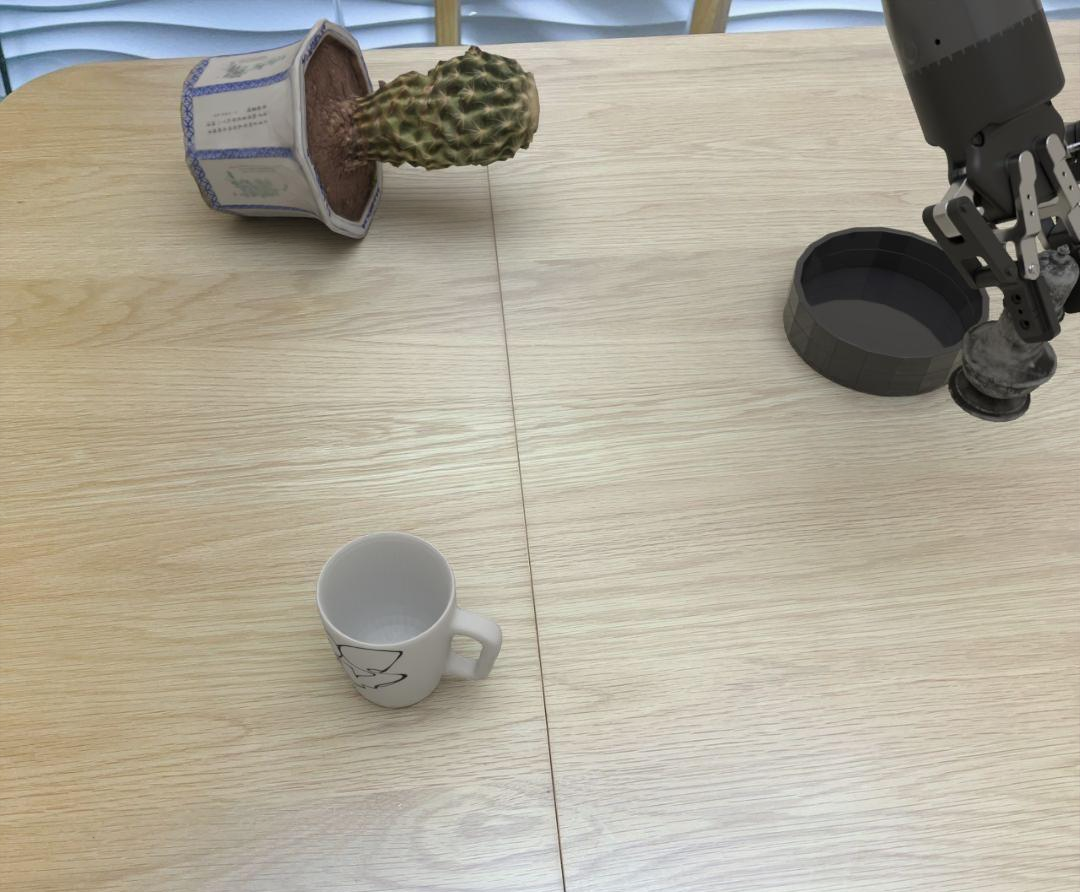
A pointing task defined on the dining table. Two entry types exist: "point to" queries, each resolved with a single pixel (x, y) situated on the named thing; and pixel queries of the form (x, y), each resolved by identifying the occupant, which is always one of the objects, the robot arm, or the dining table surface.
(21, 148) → the dining table surface
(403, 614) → the mug
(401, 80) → the potted plant
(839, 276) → the pan
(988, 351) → the grey chess piece
